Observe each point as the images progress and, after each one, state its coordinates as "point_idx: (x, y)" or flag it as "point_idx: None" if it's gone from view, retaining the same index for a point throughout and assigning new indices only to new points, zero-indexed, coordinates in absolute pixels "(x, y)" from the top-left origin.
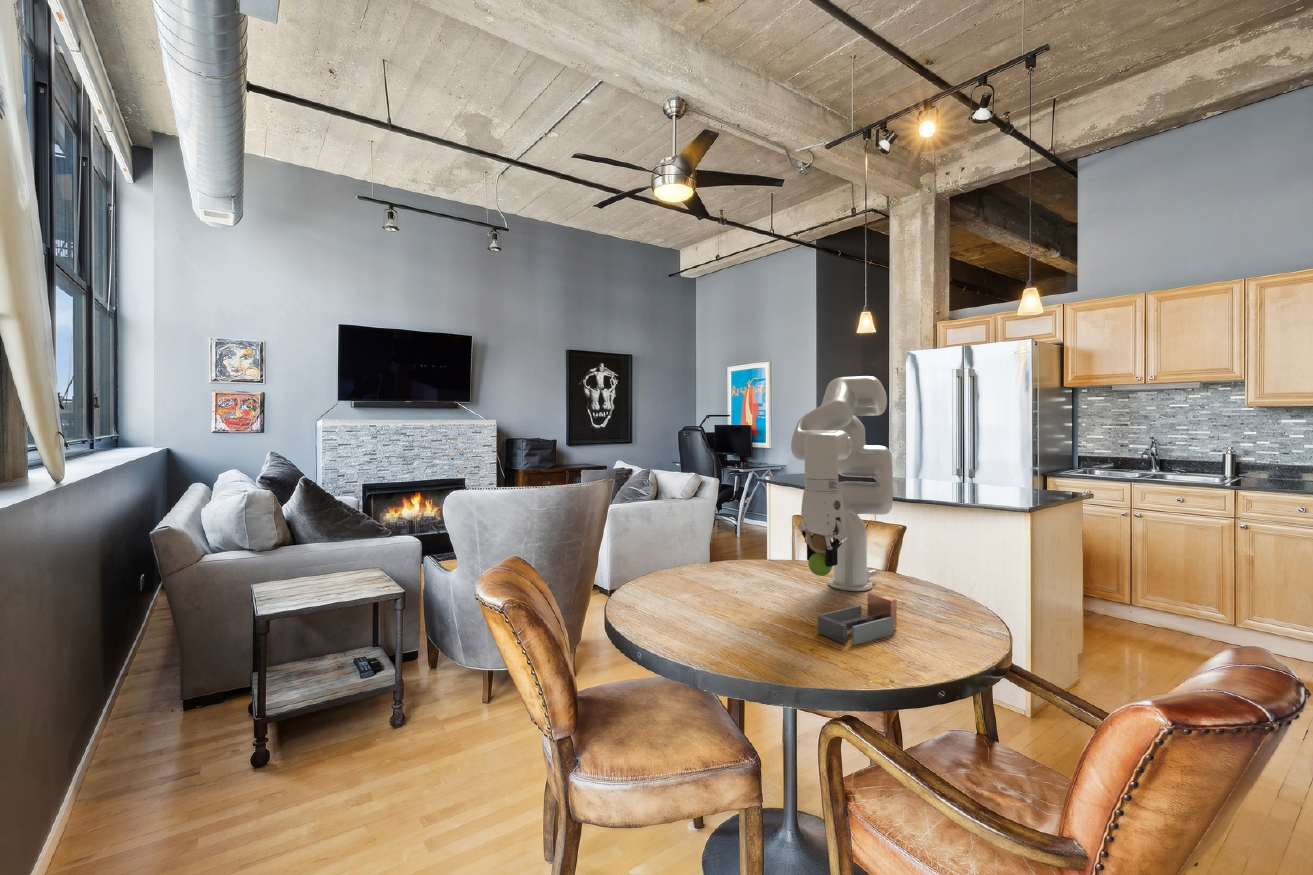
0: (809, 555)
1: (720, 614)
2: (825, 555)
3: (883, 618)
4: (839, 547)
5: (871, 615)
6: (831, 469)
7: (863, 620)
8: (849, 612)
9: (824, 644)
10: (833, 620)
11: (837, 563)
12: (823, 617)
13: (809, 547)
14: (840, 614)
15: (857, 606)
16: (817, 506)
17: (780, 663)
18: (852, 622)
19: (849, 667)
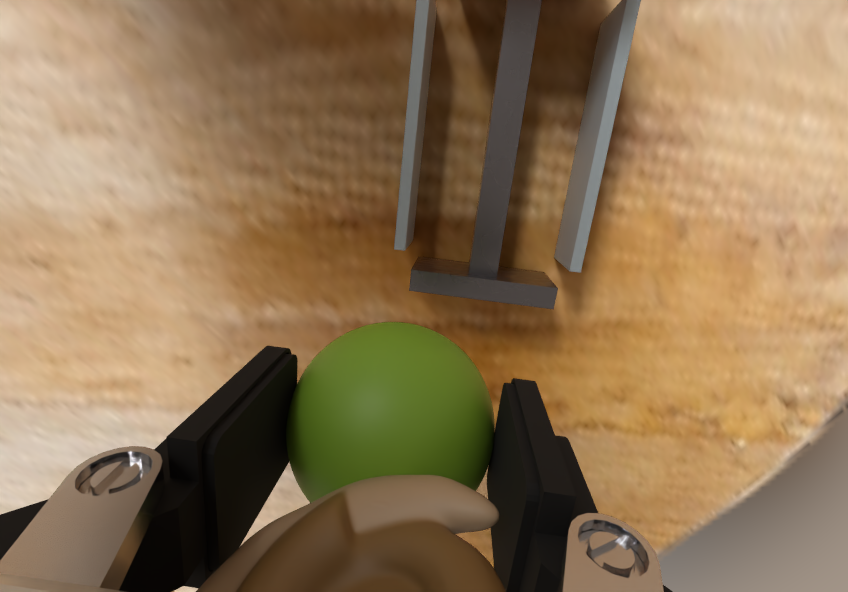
0: (275, 481)
1: (104, 383)
2: (493, 555)
3: (615, 60)
4: (640, 538)
5: (518, 25)
6: None
7: (522, 110)
8: (424, 77)
9: (492, 330)
10: (486, 285)
11: (534, 381)
12: (436, 287)
13: (235, 549)
14: (417, 139)
15: (426, 4)
16: None
17: None
18: (511, 183)
19: (649, 413)
